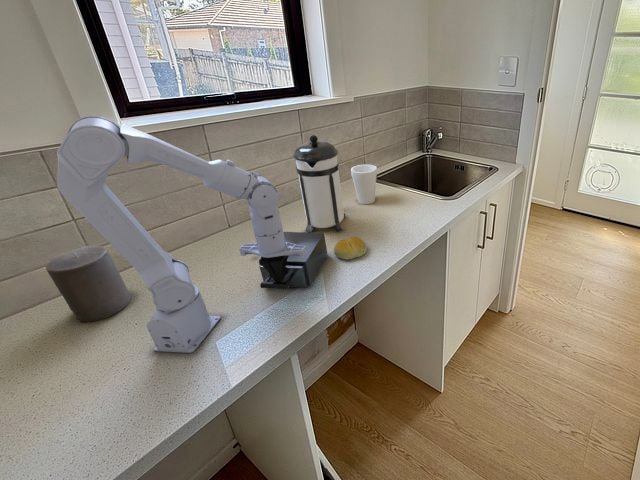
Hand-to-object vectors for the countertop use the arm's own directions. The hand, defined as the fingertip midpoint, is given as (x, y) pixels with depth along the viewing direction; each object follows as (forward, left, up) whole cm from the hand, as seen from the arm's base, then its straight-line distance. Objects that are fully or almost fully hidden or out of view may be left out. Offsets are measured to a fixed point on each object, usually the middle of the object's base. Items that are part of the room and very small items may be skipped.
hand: (280, 280), depth 79 cm
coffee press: (+35, +1, -4) cm, 36 cm away
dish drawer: (+5, 0, -3) cm, 6 cm away
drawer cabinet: (+9, 0, -4) cm, 10 cm away
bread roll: (+18, -12, -4) cm, 22 cm away
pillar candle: (-7, +39, -4) cm, 40 cm away
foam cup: (+53, -9, -4) cm, 54 cm away
